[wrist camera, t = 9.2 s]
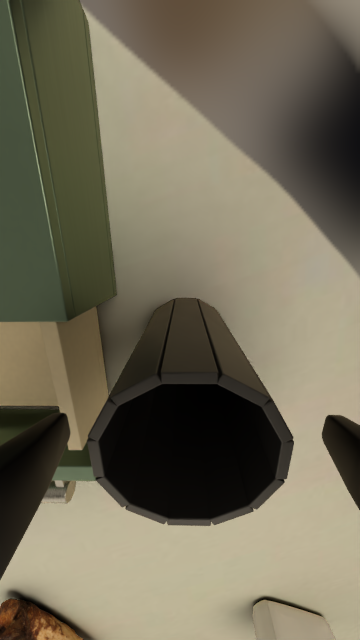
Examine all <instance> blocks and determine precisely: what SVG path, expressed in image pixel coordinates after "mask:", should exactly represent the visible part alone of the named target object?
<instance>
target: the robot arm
mask: <svg viewBox="0 0 360 640" xmlns="http://www.w3.org/2000/svg"><path fill="white" fill-rule="evenodd" d="M69 438H70V426H69V422H68V417H67V415H66V413H52V414H51V415H49V416H47V417H46V418H44V419H42V420H41V421H39V422H38V423H36V424H34V425H33V426H31V427H29V428H28V429H26V430H25V431H23V432H21V433H20V434H18V435H16V436H15V437H13V438H12V439H10V440H8V441H7V442H5V443H3V444H2V445H0V580H1V578H2V576H3V574H4V572H5V570H6V568H7V566H8V564H9V562H10V561H11V559H12V557H13V555H14V553H15V551H16V549H17V547H18V545H19V543H20V541H21V540H22V538H23V536H24V534H25V532H26V530H27V528H28V526H29V524H30V522H31V520H32V519H33V517H34V515H35V513H36V511H37V509H38V507H39V505H40V503H41V501H42V499H43V498H44V496H45V494H46V492H47V490H48V487H49V485H50V483H51V481H52V479H53V476H54V474H55V471H56V469H57V467H58V464H59V462H60V460H61V457H62V455H63V453H64V450H65V448H66V445H67V443H68V441H69ZM322 439H323V442H324V444H325V446H326V448H327V450H328V452H329V454H330V456H331V458H332V460H333V462H334V464H335V466H336V467H337V469H338V471H339V473H340V475H341V477H342V479H343V481H344V483H345V485H346V487H347V489H348V491H349V493H350V494H351V496H352V498H353V500H354V501H355V503H356V505H357V506H358V508H359V510H360V425H358V424H356V423H354V422H353V421H351V420H349V419H347V418H345V417H343V416H341V415H328V416H327V417H326V419H325V423H324V427H323V431H322Z"/></svg>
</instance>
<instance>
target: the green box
mask: <svg viewBox="0 0 360 640" xmlns="http://www.w3.org/2000/svg"><path fill="white" fill-rule="evenodd" d="M115 295H117V292H116V283H115V273H114V264H113V254H112V245H111V235H110V226H109V216H108V206H107V197H106V187H105V178H104V168H103V159H102V149H101V140H100V130H99V121H98V111H97V101H96V92H95V82H94V73H93V63H92V54H91V44H90V35H89V25H88V20H87V18H86V15H85V13H84V10H83V9H82V6H81V3H80V1H79V0H0V322H68V321H70V320H72V319H73V318H75V317H77V316H79V315H81V314H82V313H84V312H86V311H88V310H90V309H92V308H93V307H95V306H97V305H99V304H101V303H103V302H104V301H106V300H108V299H110V298H112V297H113V296H115Z"/></svg>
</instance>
